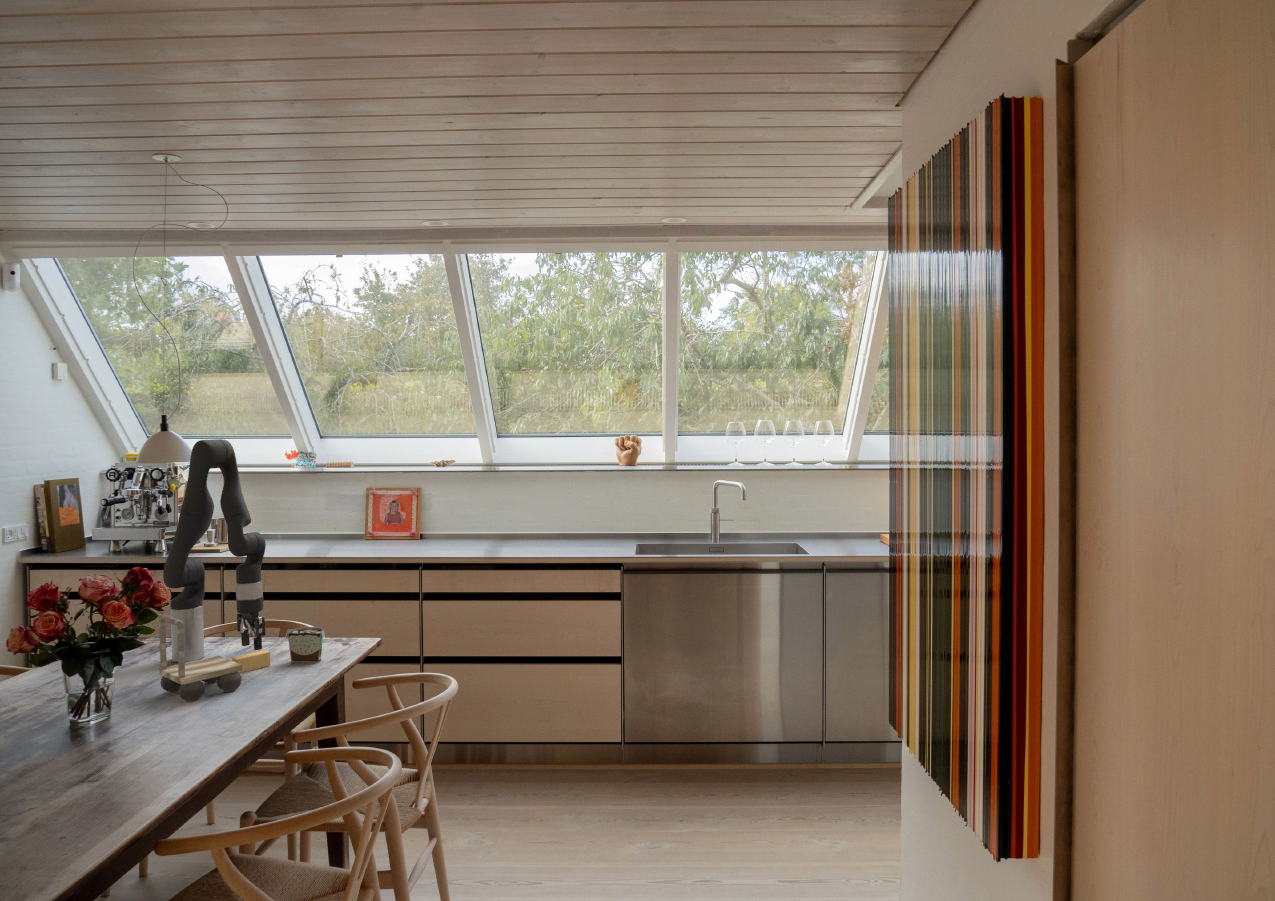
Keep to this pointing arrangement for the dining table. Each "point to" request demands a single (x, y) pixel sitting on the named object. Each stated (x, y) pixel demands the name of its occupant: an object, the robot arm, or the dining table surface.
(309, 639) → the food container
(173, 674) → the trolley
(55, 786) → the dining table surface
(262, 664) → the block
